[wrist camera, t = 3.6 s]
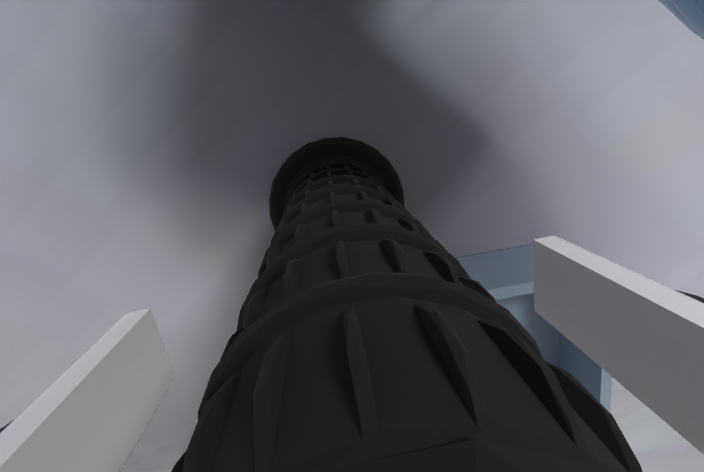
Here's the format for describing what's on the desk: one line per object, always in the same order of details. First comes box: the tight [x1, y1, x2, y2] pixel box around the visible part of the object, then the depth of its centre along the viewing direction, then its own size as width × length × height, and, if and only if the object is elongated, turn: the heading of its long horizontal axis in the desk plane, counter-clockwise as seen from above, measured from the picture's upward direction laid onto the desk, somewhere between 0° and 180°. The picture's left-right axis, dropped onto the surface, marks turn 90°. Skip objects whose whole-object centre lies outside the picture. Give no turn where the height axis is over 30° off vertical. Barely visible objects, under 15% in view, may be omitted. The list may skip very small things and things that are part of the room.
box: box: [456, 244, 612, 412], centre depth 29 cm, size 15×15×6 cm
